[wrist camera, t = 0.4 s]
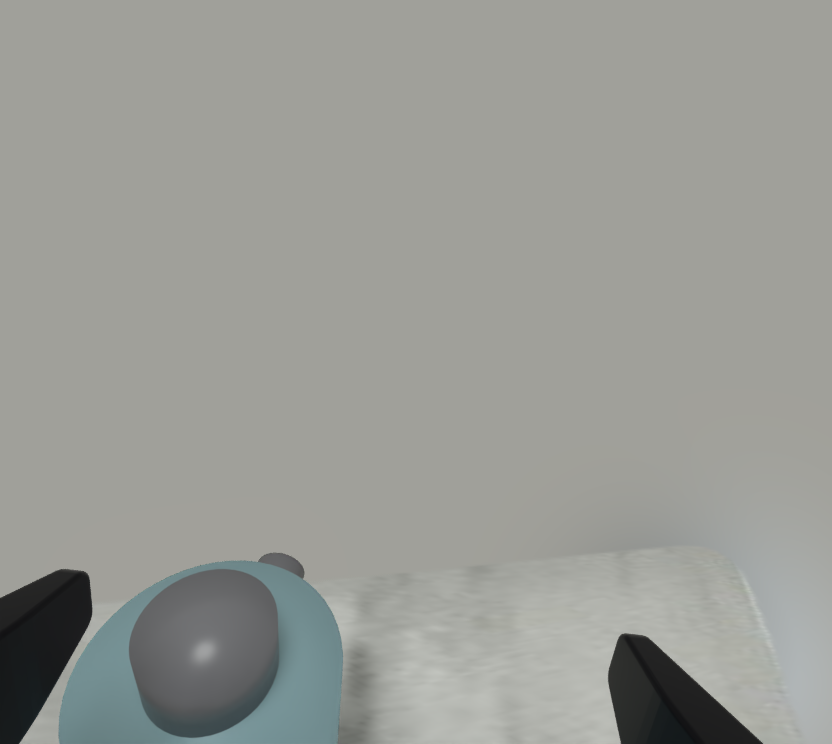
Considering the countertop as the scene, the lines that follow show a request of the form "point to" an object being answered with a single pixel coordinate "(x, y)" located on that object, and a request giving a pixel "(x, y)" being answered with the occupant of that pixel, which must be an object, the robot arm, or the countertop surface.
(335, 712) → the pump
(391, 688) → the countertop surface
